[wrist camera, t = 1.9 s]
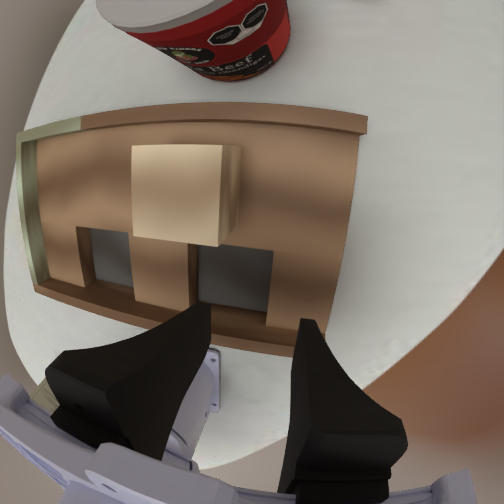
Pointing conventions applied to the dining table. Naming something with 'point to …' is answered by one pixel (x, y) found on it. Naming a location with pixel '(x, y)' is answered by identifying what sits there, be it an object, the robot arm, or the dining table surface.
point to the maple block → (185, 192)
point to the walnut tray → (185, 254)
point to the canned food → (207, 32)
